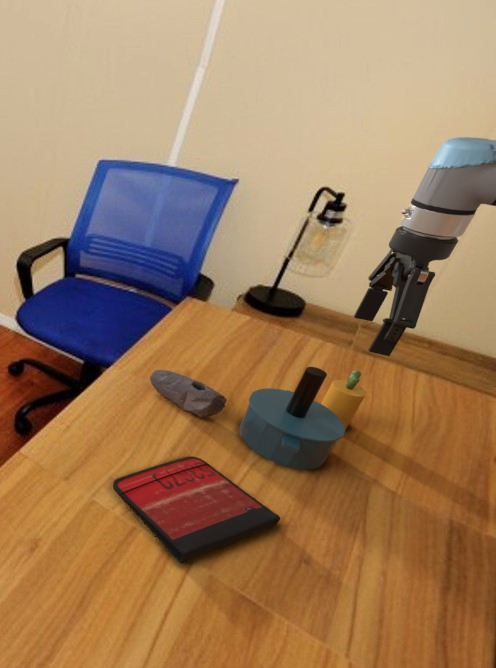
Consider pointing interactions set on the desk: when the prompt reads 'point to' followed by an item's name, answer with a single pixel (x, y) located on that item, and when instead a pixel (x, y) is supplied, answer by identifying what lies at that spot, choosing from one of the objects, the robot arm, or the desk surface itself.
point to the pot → (282, 444)
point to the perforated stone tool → (188, 393)
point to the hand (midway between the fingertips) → (370, 335)
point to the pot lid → (299, 410)
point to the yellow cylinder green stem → (345, 397)
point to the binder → (192, 506)
